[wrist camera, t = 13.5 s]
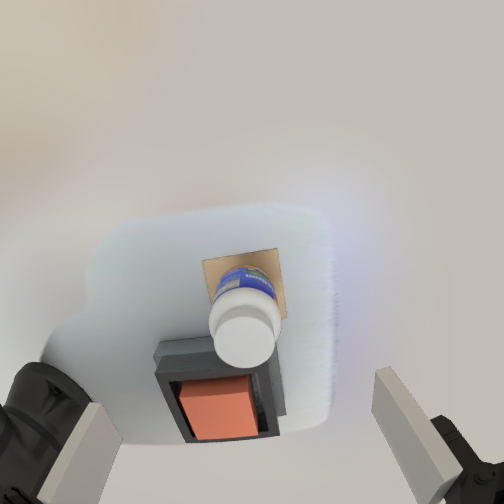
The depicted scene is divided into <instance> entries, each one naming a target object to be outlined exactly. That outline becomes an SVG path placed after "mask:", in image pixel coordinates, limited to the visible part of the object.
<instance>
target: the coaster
mask: <svg viewBox="0 0 504 504" xmlns="http://www.w3.org/2000/svg"><path fill="white" fill-rule="evenodd" d="M202 264H203V269H204V273H205V278H206V283H207V287H208V292H209V296H210V301H211V305H212V303H213V299H214V296H215V292H216V289H217V285H218V283H219V281H220V279H221V278H222V276H223V275H224V274H225V273H226V272H227V271H229V270H231V269H232V268H235V267H238V266H243V265H248V266H254V267H257V268H259V269H261V270H263V271H264V272H265V273H266V274H267V275H268V276H269V277H270V279H271V281H272V283H273V285H274V289H275V293H276V297H277V301H278V305H279V309H280V313H281V318H282V319H283V318H287V314H286V307H285V299H284V292H283V285H282V277H281V270H280V263H279V256H278V249H277V248H276V249H270V250H263V251H257V252H251V253H245V254H239V255H233V256H227V257H221V258H214V259H208V260H203V261H202Z"/></svg>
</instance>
